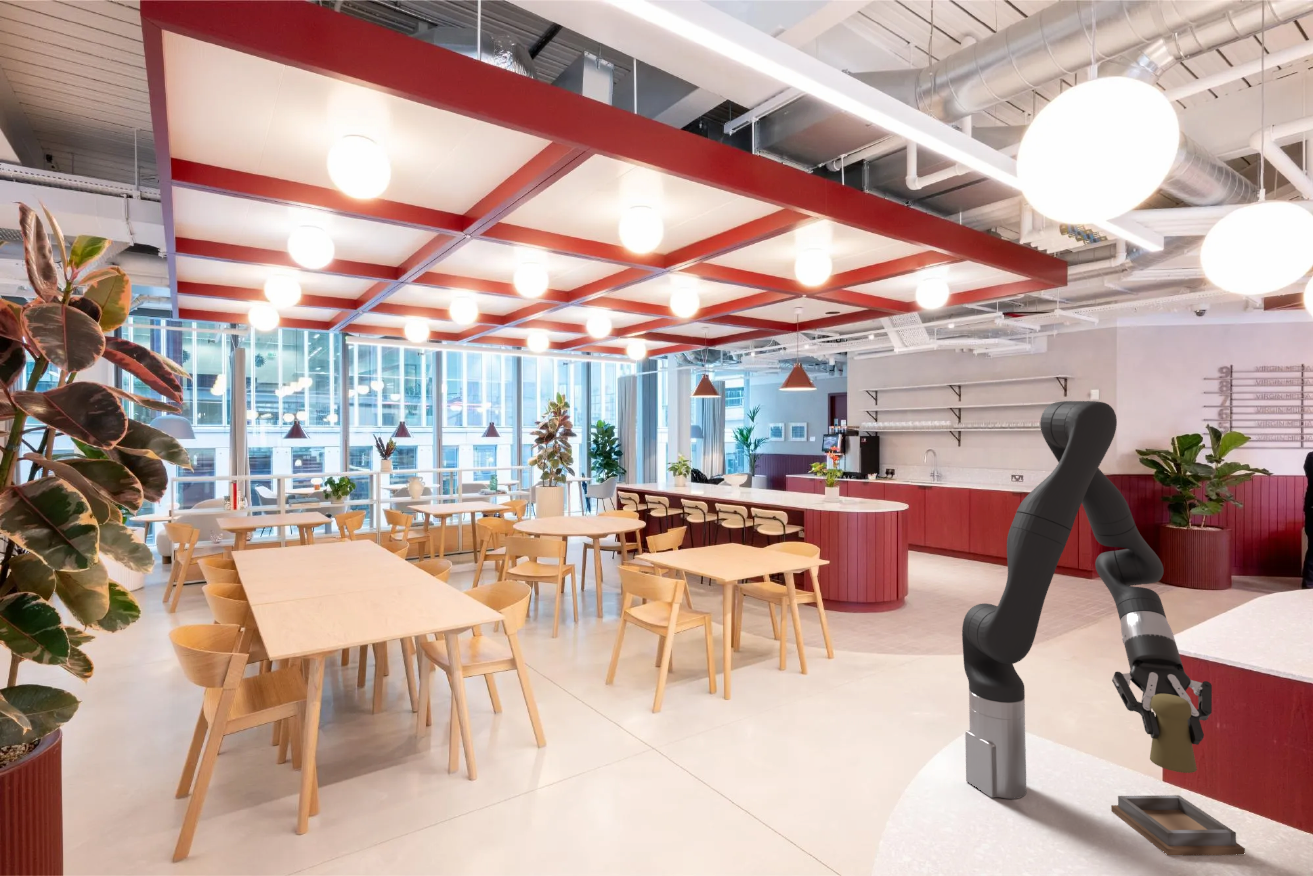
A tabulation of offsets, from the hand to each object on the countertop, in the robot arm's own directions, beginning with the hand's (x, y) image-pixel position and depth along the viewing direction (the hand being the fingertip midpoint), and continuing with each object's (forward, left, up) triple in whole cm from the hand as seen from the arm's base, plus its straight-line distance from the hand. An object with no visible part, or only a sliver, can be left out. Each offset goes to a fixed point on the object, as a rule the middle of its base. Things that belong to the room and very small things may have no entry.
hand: (1176, 739), depth 102 cm
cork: (+1, +1, -5) cm, 5 cm away
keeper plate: (+1, +1, -16) cm, 16 cm away
